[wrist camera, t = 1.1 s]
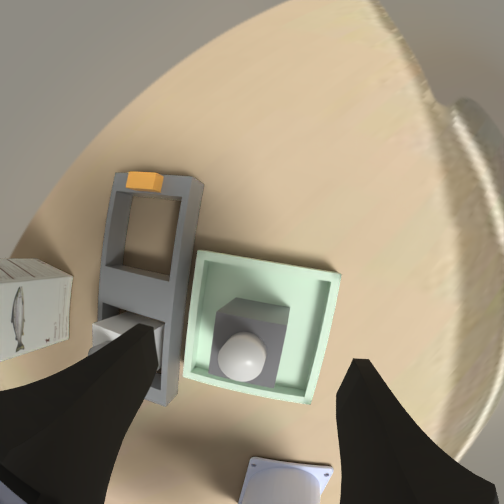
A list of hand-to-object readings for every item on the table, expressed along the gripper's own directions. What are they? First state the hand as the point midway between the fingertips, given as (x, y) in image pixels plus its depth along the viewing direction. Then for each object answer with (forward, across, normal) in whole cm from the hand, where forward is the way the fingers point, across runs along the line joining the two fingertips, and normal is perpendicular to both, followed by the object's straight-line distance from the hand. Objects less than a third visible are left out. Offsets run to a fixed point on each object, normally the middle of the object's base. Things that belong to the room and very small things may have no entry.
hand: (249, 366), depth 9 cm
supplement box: (+11, +22, +9) cm, 27 cm away
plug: (+9, 0, +6) cm, 11 cm away
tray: (+10, 0, +6) cm, 11 cm away
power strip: (+11, +9, +5) cm, 15 cm away
